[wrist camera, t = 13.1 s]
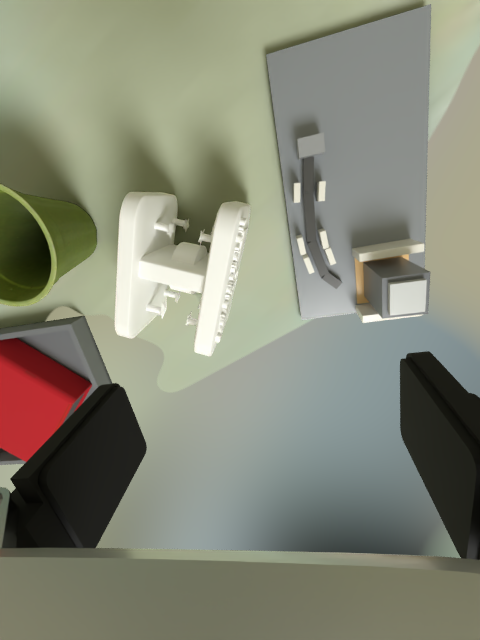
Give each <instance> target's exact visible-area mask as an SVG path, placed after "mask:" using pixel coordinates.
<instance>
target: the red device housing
mask: <svg viewBox="0 0 480 640" xmlns="http://www.w3.org/2000/svg"><path fill="white" fill-rule="evenodd" d="M91 387H92V383H90V382H89V381H87V380H85V379H84V378H82V377H80V376H79V375H77V374H75V373H74V372H72V371H70V370H69V369H67V368H65V367H64V366H62V365H61V364H59V363H57V362H56V361H54V360H52V359H51V358H49V357H47V356H46V355H44V354H42V353H41V352H39V351H37V350H36V349H34V348H32V347H31V346H29V345H27V344H26V343H24V342H22V341H21V340H19V339H17V338H10V339H4V340H0V448H2V449H3V450H5V451H7V452H9V453H11V454H13V455H14V456H16V457H18V458H20V459H22V460H23V461H25V462H27V461H28V460H29V459H30V458H31V457H32V456H33V455H34V454H35V452H36V451H37V450H38V449H39V448H40V447H41V446H42V445H43V444H44V443H45V442H46V441H47V440H48V439H49V438H50V437H51V436H52V435H53V434H54V433H55V432H56V431H57V429H58V428H59V427H60V426H61V425H62V424H63V423H64V422H65V421H66V420H67V419H68V418H69V417H70V416H71V415H72V414H73V413H74V412H75V411H76V410H77V409H78V408H79V406H80V405H81V404H82V403H83V401H84V399H85V397H86V396H87V394H88V392H89V390H90V388H91Z"/></svg>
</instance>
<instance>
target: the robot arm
mask: <svg viewBox="0 0 480 640" xmlns="http://www.w3.org/2000/svg"><path fill="white" fill-rule="evenodd" d="M400 412H401V413H400V417H401V418H400V423H401V424H400V426H401V427H400V428H401V435H402V438H403V441H404V443H405V445H406V447H407V449H408V451H409V453H410V455H411V457H412V460H413V461H414V464H415V465H416V468H417V470H418V472H419V474H420V476H421V478H422V480H423V482H424V484H425V486H426V488H427V490H428V492H429V494H430V496H431V498H432V500H433V502H434V504H435V507H436V509H437V511H438V512H439V515H440V517H441V519H442V521H443V523H444V525H445V527H446V529H447V531H448V533H449V535H450V537H451V539H452V541H453V543H454V545H455V547H456V550H457V551H458V553H459V555H460V557H461V558H451V557H438V556H413V555H389V554H366V553H327V552H285V551H242V550H240V551H238V550H185V549H122V548H121V549H120V548H96V546H97V544H98V543H99V541H100V539H101V537H102V535H103V533H104V531H105V529H106V527H107V525H108V524H109V522H110V520H111V518H112V516H113V514H114V512H115V510H116V508H117V507H118V505H119V503H120V501H121V499H122V497H123V495H124V493H125V491H126V490H127V487H128V486H129V484H130V482H131V480H132V478H133V476H134V474H135V472H136V471H137V469H138V467H139V465H140V463H141V461H142V459H143V457H144V455H145V453H146V448H147V447H146V442H145V439H144V437H143V435H142V432H141V429H140V427H139V425H138V422H137V419H136V417H135V414H134V412H133V409H132V407H131V404H130V402H129V400H128V397H127V394H126V392H125V390H124V388H123V387H120V385H119V384H116V383H115V384H114V383H113V384H104V385H100V386H99V387H98V388H97V389H96V390H95V391H94V392H93V393H92V394H91V395H90V396H89V397H88V398H87V399H86V400H85V401H84V402H83V403H82V404H81V405H80V406H79V408H78V409H77V410H76V411H75V412H74V413H73V414H72V415H71V416H70V417H69V418H68V419H67V420H66V421H65V422H64V423H63V424H62V425H61V426H60V427H59V428H58V429H57V431H56V432H55V433H54V434H53V435H52V436H51V437H50V438H49V439H48V440H47V441H46V442H45V443H44V444H43V445H42V446H41V447H40V448H39V449H38V450H37V451H36V452H35V454H34V455H33V456H32V457H31V458H30V459H29V460H28V461H27V462H26V463H25V464H24V465H23V466H22V467H21V468H20V469H19V470H18V471H17V472H16V473H15V474H14V475H13V477H12V478H11V481H12V483H13V484H14V486H15V487H16V489H15V490H14V491H13V492H12V493H10V491H9V490H8V489H6V488H2V487H0V640H480V398H479V397H478V396H476V395H475V394H472V393H468V392H467V391H466V390H465V389H464V388H463V387H462V386H461V384H460V383H459V382H458V381H457V380H456V379H455V378H454V377H453V376H452V375H451V374H450V373H449V372H448V371H447V369H446V368H445V367H444V366H443V365H442V364H441V363H440V362H439V361H438V360H437V359H436V358H435V357H434V356H433V354H431V353H430V352H419V353H409V354H407V356H406V359H401V361H400Z"/></svg>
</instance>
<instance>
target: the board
mask: <svg viewBox="0 0 480 640" xmlns="http://www.w3.org/2000/svg"><path fill="white" fill-rule="evenodd" d="M430 30H431V4H430V5H426V6H423V7H420V8H417V9H413V10H410V11H407V12H404V13H400V14H397V15H394V16H390V17H387V18H384V19H381V20H377V21H374V22H371V23H368V24H364V25H361V26H358V27H355V28H351V29H348V30H345V31H341V32H338V33H335V34H332V35H328V36H325V37H322V38H319V39H315V40H312V41H309V42H306V43H302V44H299V45H296V46H292V47H289V48H286V49H283V50H279V51H276V52H273V53H270V54H266V57H267V65H268V73H269V80H270V88H271V95H272V103H273V110H274V118H275V125H276V133H277V140H278V148H279V155H280V163H281V170H282V178H283V185H284V193H285V200H286V208H287V215H288V223H289V230H290V238H291V245H292V253H293V260H294V268H295V275H296V283H297V290H298V298H299V305H300V313H301V320H306V319H313V318H320V317H329V316H336V315H344V314H352V313H357V314H358V315H359V317H360V319H361V320H362V322H363V323H365V322H373V321H381V320H390V319H398V318H405V317H413V316H421V315H422V314H421V315H412V316H403V317H394V318H384V319H382V318H381V316H380V315H379V314H378V313H377V311H376V310H375V309H374V308H373V306H372V305H371V304H370V303H369V301H368V300H367V299H366V298H365V296H364V271H363V262H369V261H376V260H383V259H390V258H397V257H403V258H405V259H407V260H408V261H410V262H412V263H414V264H416V265H418V266H420V267H422V268H424V267H425V231H426V230H425V229H426V191H427V190H426V189H427V150H428V149H427V148H428V111H429V70H430ZM424 269H425V268H424Z"/></svg>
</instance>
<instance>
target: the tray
mask: <svg viewBox="0 0 480 640" xmlns="http://www.w3.org/2000/svg"><path fill="white" fill-rule="evenodd" d="M10 338H17V339H19V340H21V341H22V342H24V343H26V344H27V345H29V346H31V347H32V348H34V349H36V350H37V351H39V352H41V353H42V354H44V355H46V356H47V357H49V358H51V359H52V360H54V361H56V362H57V363H59V364H61V365H62V366H64V367H65V368H67V369H69V370H70V371H72V372H74V373H75V374H77V375H79V376H80V377H82V378H84V379H85V380H87V381H89V382H90V383H92V387H91V388H90V390H89V392H88V394H87V396H86V397H85V399H84V401H85V400H86V399H87V398H88V397H89V396H90V395H91V394H92V393H93V392H94V391H95V390H96V389H97V388H98V387H99V386H100V385H104V384H112V382H111V379H110V377H109V374H108V372H107V370H106V367H105V365H104V362H103V360H102V357H101V355H100V352H99V350H98V348H97V345H96V343H95V340H94V338H93V335H92V333H91V331H90V328H89V326H88V323H87V321H86V318H85V316H79V317H73V318H66V319H60V320H53V321H47V322H40V323H34V324H27V325H21V326H14V327H8V328H1V329H0V340H4V339H10ZM84 401H83V402H84ZM25 463H26V462H25V461H23V460H22V459H20V458H18V457H16V456H14V455H13V454H11V453H9V452H7V451H5V450H3V449H2V448H0V465H6V464H25Z"/></svg>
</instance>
